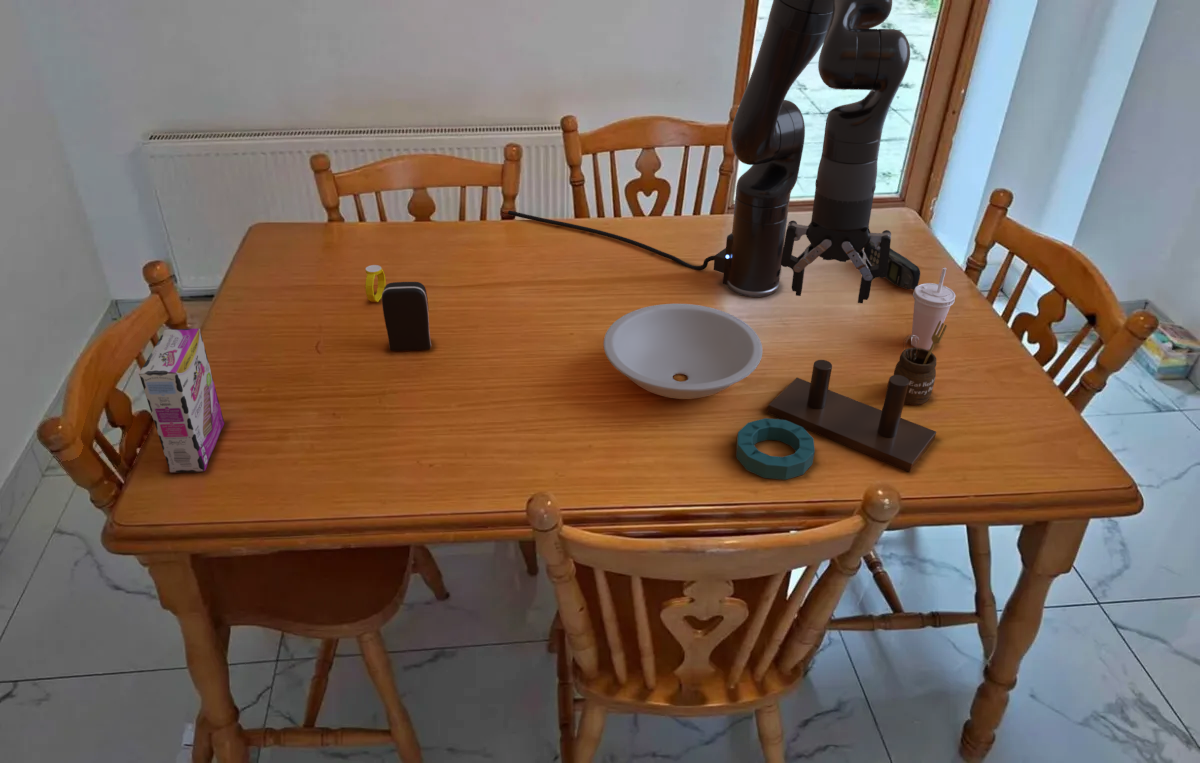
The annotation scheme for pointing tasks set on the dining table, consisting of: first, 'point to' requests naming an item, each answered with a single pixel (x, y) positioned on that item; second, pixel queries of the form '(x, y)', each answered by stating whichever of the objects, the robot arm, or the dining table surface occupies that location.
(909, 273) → the mobile phone
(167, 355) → the candy bar box
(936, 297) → the smoothie
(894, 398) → the rack
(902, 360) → the utensil holder
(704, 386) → the vessel sink basin
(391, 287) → the battery charger
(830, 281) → the dining table surface
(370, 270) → the watch
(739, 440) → the teal faceted ring
